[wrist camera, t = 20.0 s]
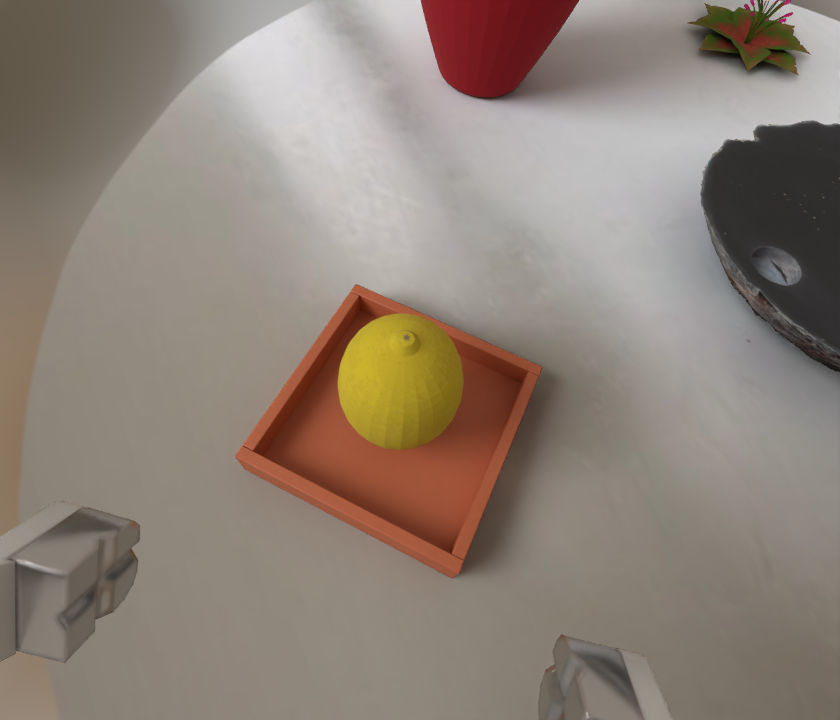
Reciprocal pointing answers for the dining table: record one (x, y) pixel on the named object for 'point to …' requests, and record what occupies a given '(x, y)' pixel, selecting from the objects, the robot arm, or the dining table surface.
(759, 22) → the lily flower
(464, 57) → the vase
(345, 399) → the lemon
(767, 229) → the board
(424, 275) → the dining table surface
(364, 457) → the tray
